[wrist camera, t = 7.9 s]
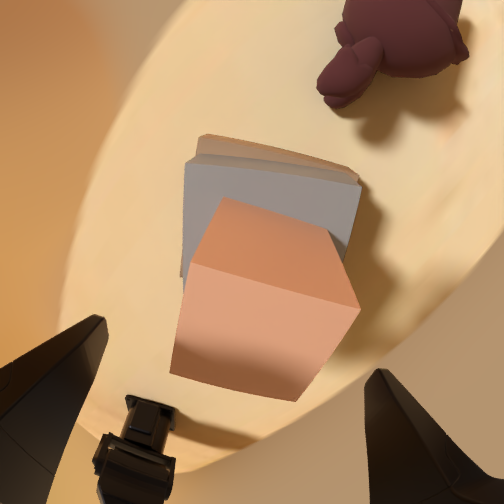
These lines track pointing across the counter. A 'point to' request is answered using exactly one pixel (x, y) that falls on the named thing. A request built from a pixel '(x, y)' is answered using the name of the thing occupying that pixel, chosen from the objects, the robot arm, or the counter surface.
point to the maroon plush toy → (391, 44)
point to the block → (262, 303)
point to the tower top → (266, 196)
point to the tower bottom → (261, 156)
